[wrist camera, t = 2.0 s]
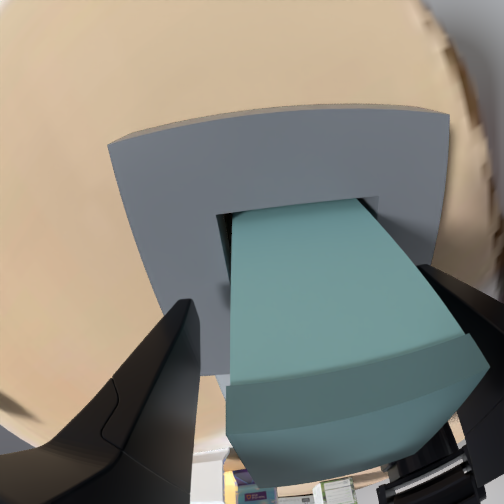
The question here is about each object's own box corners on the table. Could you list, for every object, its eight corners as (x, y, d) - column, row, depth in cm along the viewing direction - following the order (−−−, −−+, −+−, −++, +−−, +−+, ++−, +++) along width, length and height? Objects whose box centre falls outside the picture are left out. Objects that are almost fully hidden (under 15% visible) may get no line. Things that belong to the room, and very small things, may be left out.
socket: (416, 106, 8) (449, 114, 7) (391, 314, 13) (406, 342, 12) (131, 133, 8) (107, 145, 7) (195, 343, 14) (191, 376, 12)
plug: (345, 185, 10) (490, 367, 3) (342, 277, 12) (414, 454, 5) (231, 198, 10) (226, 434, 3) (246, 290, 12) (258, 488, 5)
